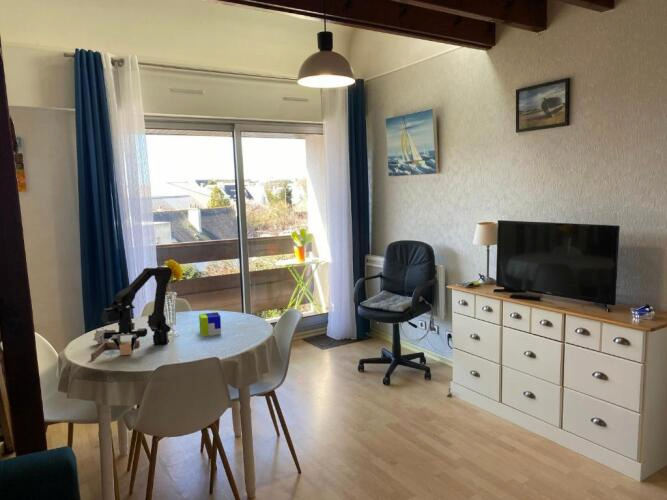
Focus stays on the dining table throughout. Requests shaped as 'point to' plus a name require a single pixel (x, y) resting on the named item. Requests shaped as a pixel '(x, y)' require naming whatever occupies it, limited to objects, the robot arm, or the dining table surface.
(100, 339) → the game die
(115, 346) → the arena
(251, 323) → the dining table surface
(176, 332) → the dining table surface
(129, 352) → the cube
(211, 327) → the puzzle toy
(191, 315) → the dining table surface
